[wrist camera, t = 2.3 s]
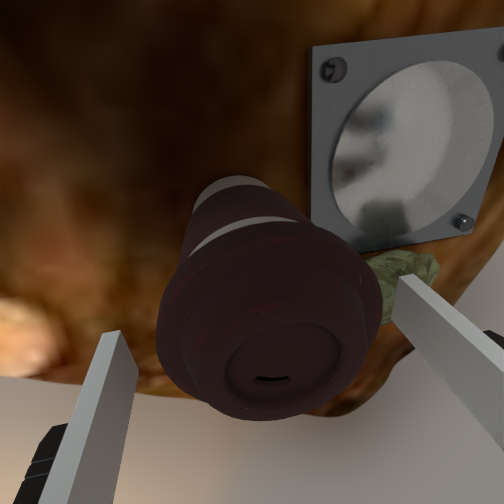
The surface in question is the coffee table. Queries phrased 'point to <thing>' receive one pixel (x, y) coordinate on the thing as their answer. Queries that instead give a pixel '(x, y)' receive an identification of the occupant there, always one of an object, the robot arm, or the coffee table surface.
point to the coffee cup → (264, 306)
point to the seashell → (400, 273)
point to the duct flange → (403, 135)
